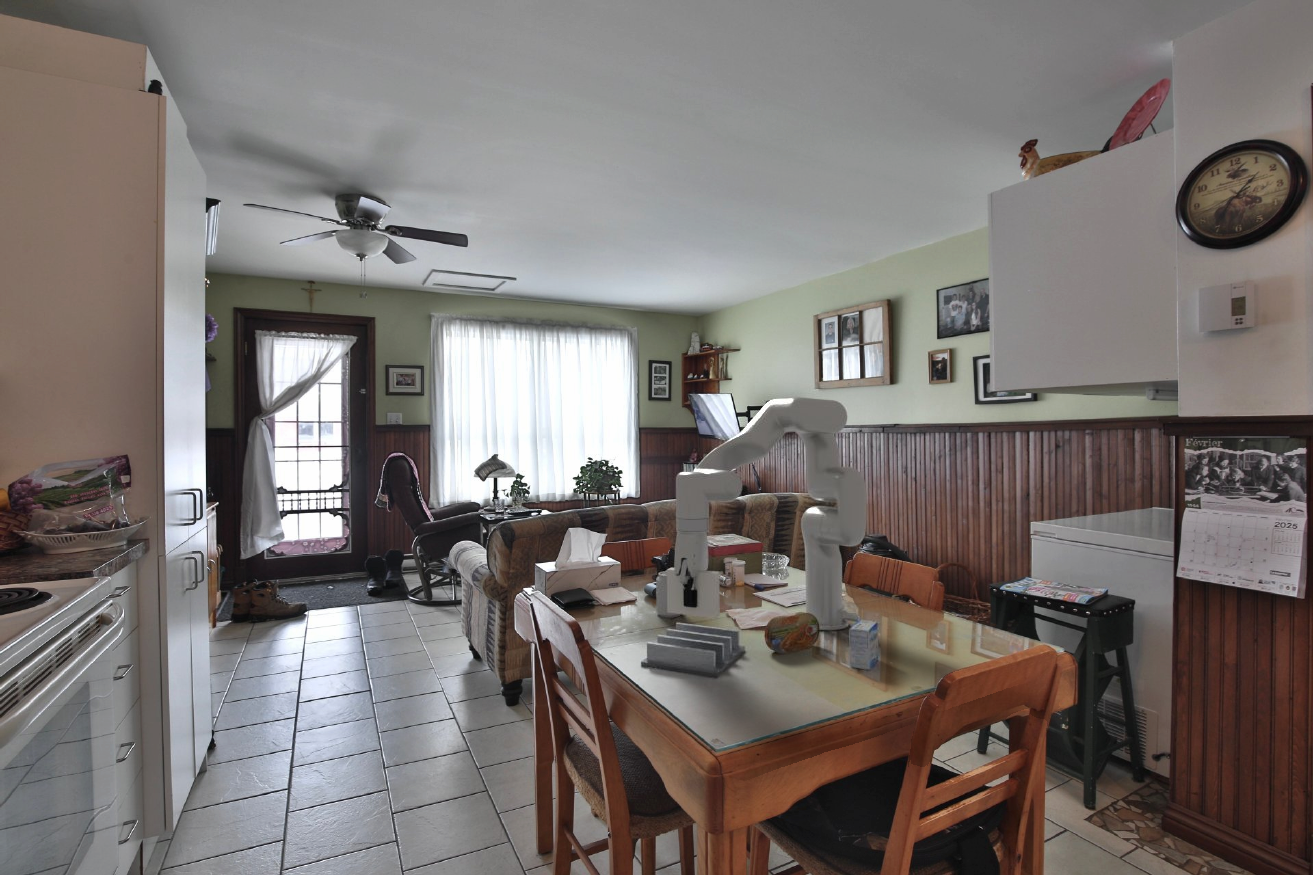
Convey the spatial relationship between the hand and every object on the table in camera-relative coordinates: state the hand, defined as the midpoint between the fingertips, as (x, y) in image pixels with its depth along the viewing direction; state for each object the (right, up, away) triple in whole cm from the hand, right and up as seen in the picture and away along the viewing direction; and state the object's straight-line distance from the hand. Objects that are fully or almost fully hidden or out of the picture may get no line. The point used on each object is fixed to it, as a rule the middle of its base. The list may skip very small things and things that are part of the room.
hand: (693, 604), depth 150 cm
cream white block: (0, -2, 0) cm, 2 cm away
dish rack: (0, -12, 0) cm, 12 cm away
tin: (+24, -12, +5) cm, 28 cm away
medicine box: (+38, -12, -5) cm, 40 cm away
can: (-5, -12, +36) cm, 38 cm away
